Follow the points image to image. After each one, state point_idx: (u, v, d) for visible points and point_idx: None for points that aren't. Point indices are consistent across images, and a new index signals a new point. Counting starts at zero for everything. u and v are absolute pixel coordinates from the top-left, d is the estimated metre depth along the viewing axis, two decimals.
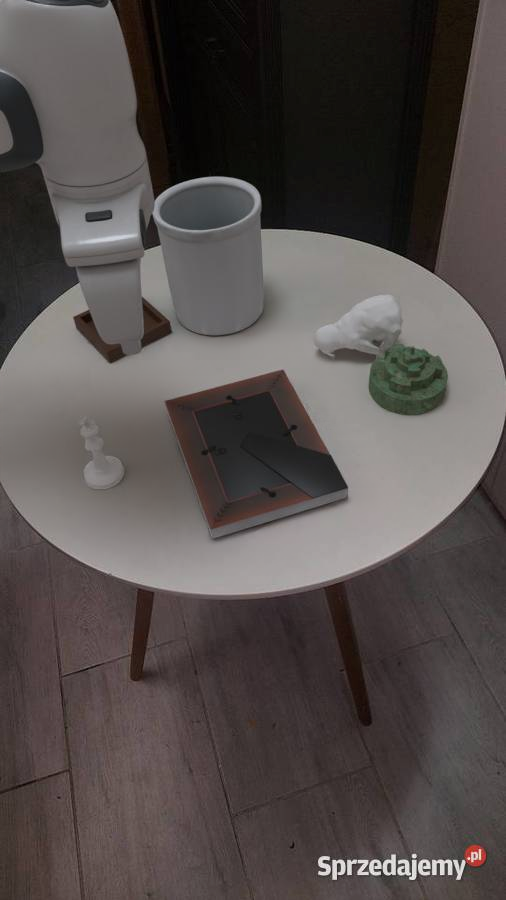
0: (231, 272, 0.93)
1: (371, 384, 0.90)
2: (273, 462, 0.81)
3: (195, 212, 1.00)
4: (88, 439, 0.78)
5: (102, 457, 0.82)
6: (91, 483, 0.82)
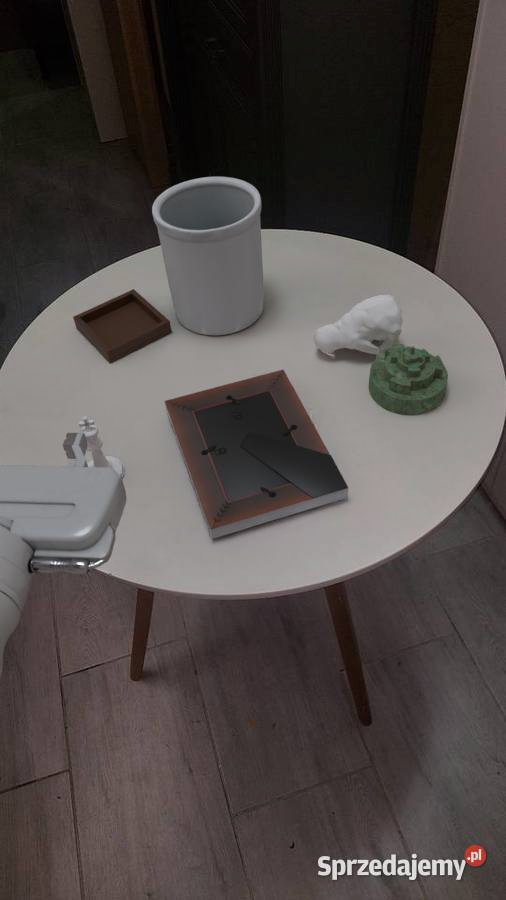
0: (230, 272, 0.93)
1: (371, 384, 0.90)
2: (273, 462, 0.81)
3: (195, 212, 1.00)
4: (88, 439, 0.78)
5: (102, 457, 0.82)
6: None
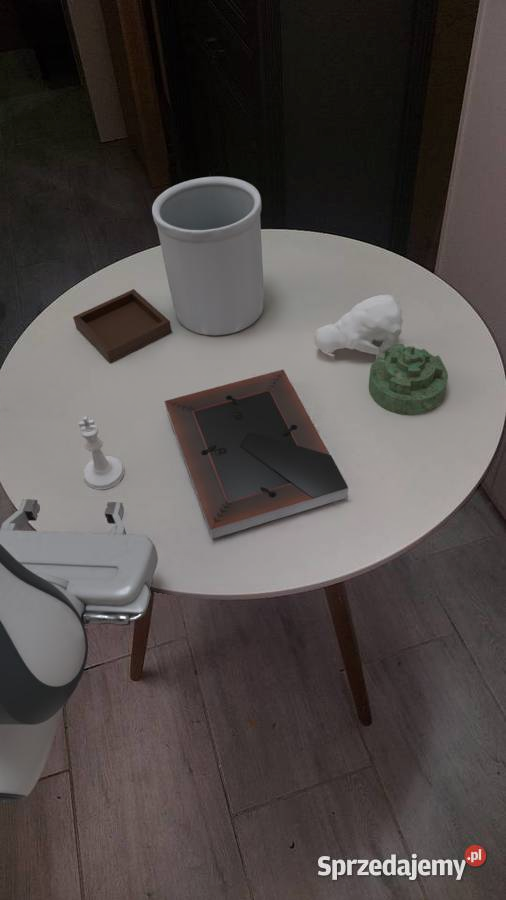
0: (230, 272, 0.93)
1: (371, 384, 0.90)
2: (273, 462, 0.81)
3: (195, 212, 1.00)
4: (88, 439, 0.78)
5: (102, 457, 0.82)
6: (91, 483, 0.82)
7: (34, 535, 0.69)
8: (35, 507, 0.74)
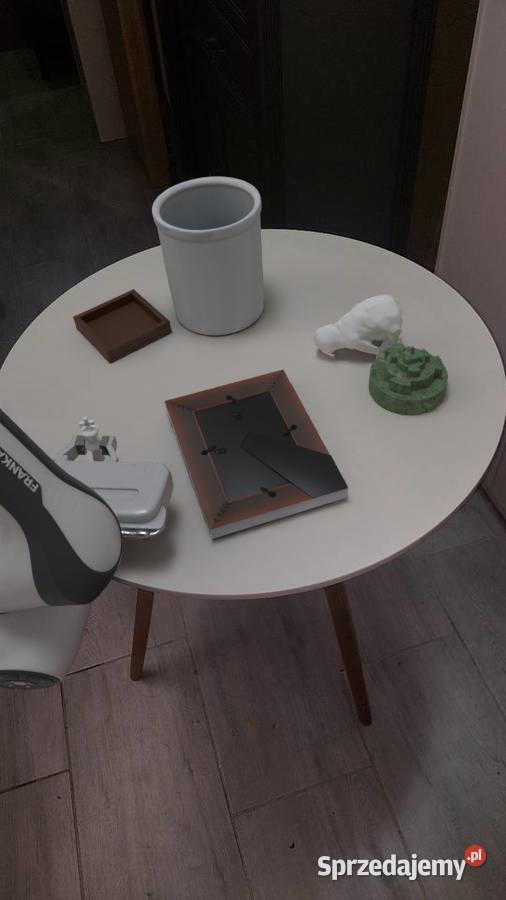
0: (230, 272, 0.93)
1: (371, 384, 0.90)
2: (273, 462, 0.81)
3: (195, 212, 1.00)
4: (88, 439, 0.78)
5: (102, 457, 0.82)
6: None
7: (61, 463, 0.76)
8: None
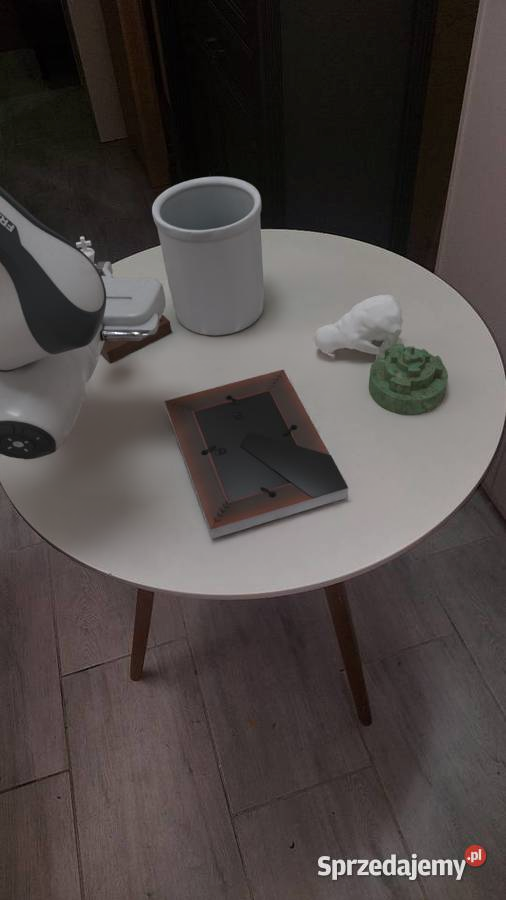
0: (230, 272, 0.93)
1: (371, 384, 0.90)
2: (273, 462, 0.81)
3: (195, 212, 1.00)
4: None
5: None
6: None
7: None
8: None
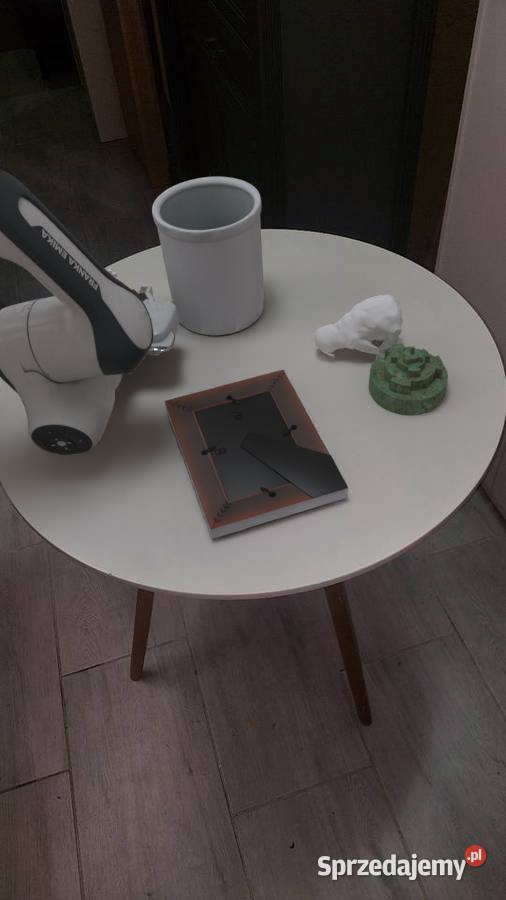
0: (230, 272, 0.93)
1: (371, 384, 0.90)
2: (273, 462, 0.81)
3: (195, 212, 1.00)
4: None
5: None
6: None
7: None
8: None
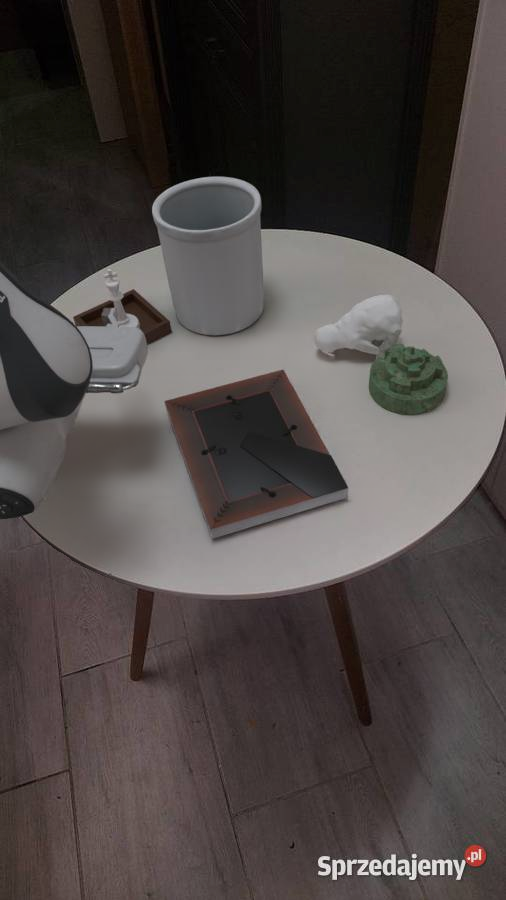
0: (230, 272, 0.93)
1: (371, 384, 0.90)
2: (273, 462, 0.81)
3: (195, 212, 1.00)
4: (111, 290, 0.96)
5: (122, 309, 1.00)
6: None
7: None
8: None
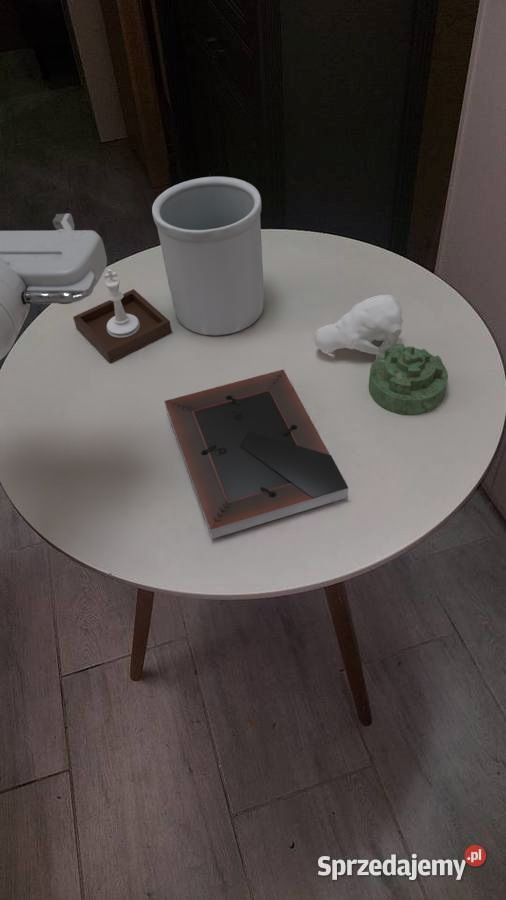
0: (230, 272, 0.93)
1: (371, 384, 0.90)
2: (273, 462, 0.81)
3: (195, 212, 1.00)
4: (111, 290, 0.96)
5: (122, 309, 1.00)
6: (113, 332, 1.00)
7: None
8: None
